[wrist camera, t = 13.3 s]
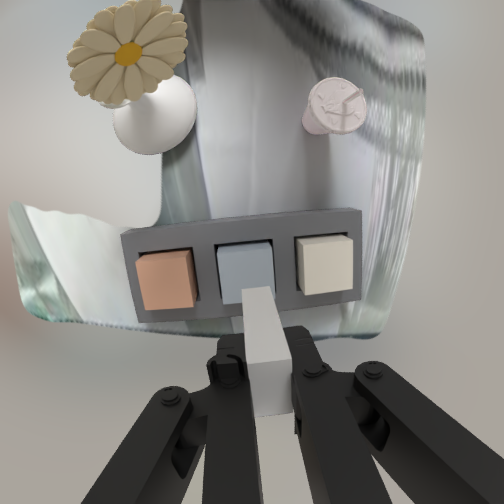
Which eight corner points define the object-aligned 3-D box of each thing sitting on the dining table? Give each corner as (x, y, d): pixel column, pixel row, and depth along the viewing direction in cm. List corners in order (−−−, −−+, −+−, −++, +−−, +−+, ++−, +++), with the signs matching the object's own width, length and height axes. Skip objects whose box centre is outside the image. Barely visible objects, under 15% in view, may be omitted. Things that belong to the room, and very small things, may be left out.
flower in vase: (121, 163, 35) (-15, 150, 11) (115, 88, 32) (6, 11, 8) (216, 145, 35) (183, 76, 11) (206, 67, 33) (176, -62, 8)
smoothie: (344, 135, 36) (397, 115, 22) (304, 151, 36) (342, 135, 22) (324, 93, 34) (367, 56, 21) (283, 108, 35) (309, 71, 21)
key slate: (219, 244, 36) (216, 253, 31) (266, 239, 37) (271, 248, 32) (224, 289, 38) (223, 304, 33) (270, 284, 38) (275, 298, 33)
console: (131, 229, 37) (120, 234, 33) (349, 207, 38) (361, 210, 34) (146, 310, 40) (138, 322, 36) (350, 289, 41) (360, 299, 37)
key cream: (294, 236, 37) (303, 245, 32) (338, 232, 37) (352, 240, 32) (296, 281, 38) (305, 295, 33) (338, 276, 38) (352, 288, 33)
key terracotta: (147, 251, 36) (135, 262, 31) (191, 247, 36) (185, 256, 31) (155, 295, 37) (145, 310, 33) (198, 291, 38) (193, 307, 33)
